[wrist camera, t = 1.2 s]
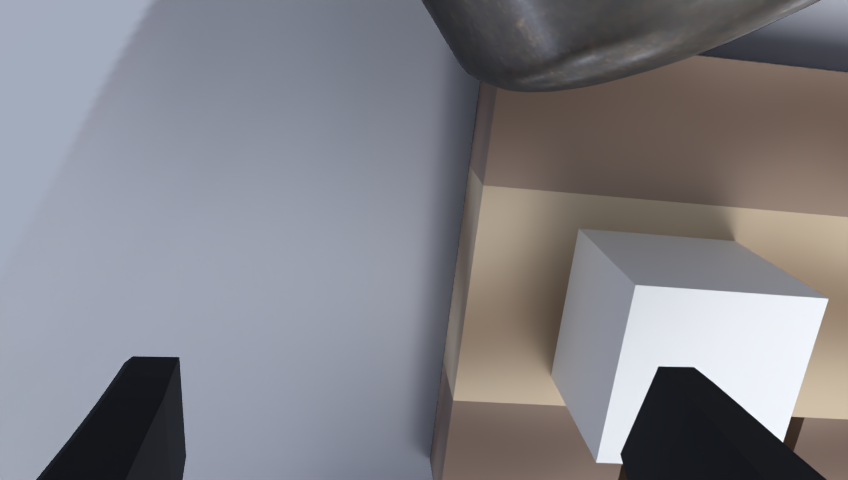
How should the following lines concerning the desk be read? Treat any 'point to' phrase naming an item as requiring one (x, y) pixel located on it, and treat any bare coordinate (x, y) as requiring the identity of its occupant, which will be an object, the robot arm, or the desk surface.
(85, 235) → the desk surface
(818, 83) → the trap board
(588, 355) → the white block
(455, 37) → the alarm clock
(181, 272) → the desk surface
